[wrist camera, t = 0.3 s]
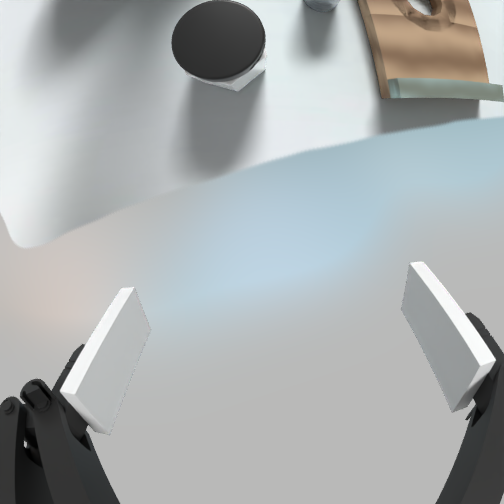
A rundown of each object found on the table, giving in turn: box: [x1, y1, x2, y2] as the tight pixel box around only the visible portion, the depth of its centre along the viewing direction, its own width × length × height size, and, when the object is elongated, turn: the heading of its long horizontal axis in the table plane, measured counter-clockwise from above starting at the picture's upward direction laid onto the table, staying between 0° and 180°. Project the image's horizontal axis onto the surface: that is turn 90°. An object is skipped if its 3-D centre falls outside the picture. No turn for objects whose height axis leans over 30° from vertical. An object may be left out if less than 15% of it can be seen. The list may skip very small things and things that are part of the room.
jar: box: [171, 0, 267, 91], centre depth 25 cm, size 9×8×12 cm
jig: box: [357, 0, 504, 102], centre depth 23 cm, size 24×18×6 cm
